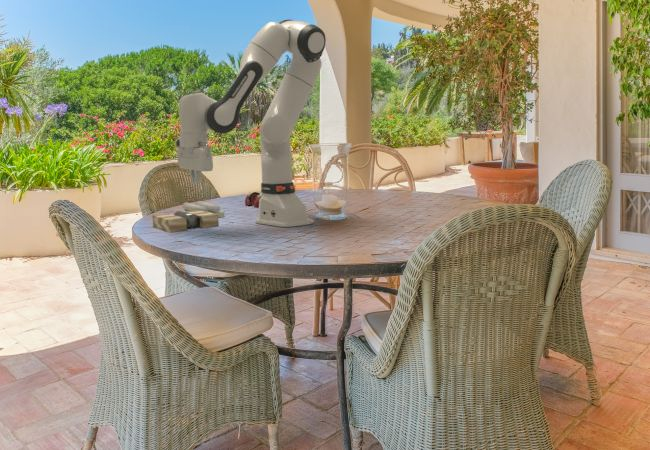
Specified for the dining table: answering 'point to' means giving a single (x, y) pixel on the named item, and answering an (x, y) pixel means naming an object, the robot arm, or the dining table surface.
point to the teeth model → (253, 199)
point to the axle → (189, 219)
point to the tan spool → (184, 221)
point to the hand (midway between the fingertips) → (196, 183)
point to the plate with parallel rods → (203, 208)
